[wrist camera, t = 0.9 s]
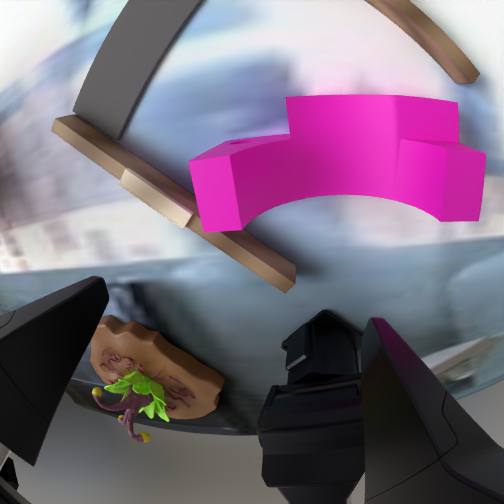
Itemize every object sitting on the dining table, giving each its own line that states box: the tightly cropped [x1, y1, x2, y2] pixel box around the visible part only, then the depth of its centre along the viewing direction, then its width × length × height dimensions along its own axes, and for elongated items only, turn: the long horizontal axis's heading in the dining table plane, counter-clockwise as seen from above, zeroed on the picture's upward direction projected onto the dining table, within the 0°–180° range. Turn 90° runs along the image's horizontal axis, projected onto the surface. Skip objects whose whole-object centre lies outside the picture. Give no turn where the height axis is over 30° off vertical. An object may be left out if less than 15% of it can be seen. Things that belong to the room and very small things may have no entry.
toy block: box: [188, 95, 486, 233], centre depth 15 cm, size 15×6×8 cm, turn 98°
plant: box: [90, 315, 225, 443], centre depth 31 cm, size 20×20×11 cm
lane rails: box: [51, 0, 480, 293], centre depth 15 cm, size 24×23×3 cm
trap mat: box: [73, 0, 203, 140], centre depth 14 cm, size 6×19×1 cm, turn 145°
